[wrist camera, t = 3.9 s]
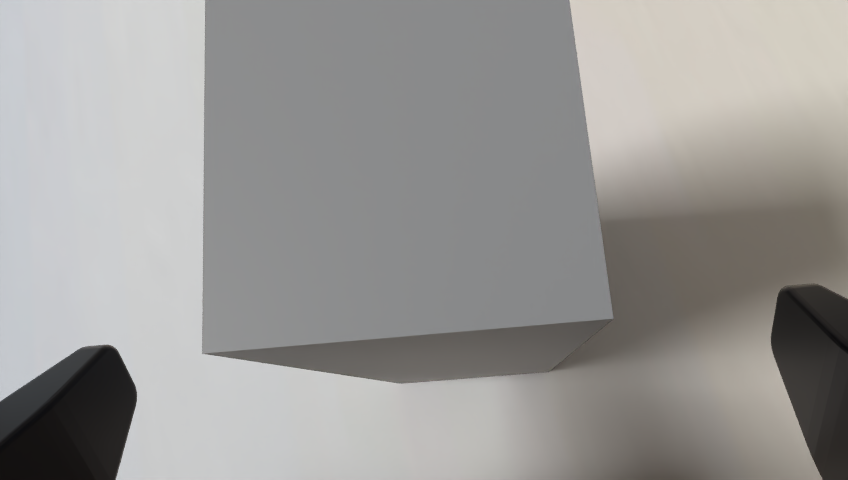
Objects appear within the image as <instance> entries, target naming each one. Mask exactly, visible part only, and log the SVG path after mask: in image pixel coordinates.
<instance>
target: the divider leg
mask: <svg viewBox="0 0 848 480" xmlns="http://www.w3.org/2000/svg"><path fill="white" fill-rule="evenodd" d="M613 319H614V318H613V311H612V304H611V297H610V290H609V283H608V275H607V268H606V261H605V254H604V247H603V239H602V232H601V225H600V218H599V211H598V203H597V196H596V189H595V182H594V175H593V167H592V160H591V153H590V146H589V139H588V132H587V124H586V117H585V110H584V103H583V96H582V88H581V81H580V74H579V67H578V60H577V52H576V45H575V38H574V31H573V24H572V17H571V9H570V2H569V0H205V96H204V211H203V327H202V354H208V355H215V356H222V357H228V358H235V359H242V360H248V361H255V362H261V363H268V364H275V365H281V366H288V367H294V368H301V369H308V370H314V371H321V372H327V373H334V374H341V375H347V376H354V377H361V378H367V379H374V380H380V381H387V382H394V383H412V382H425V381H438V380H451V379H464V378H477V377H490V376H503V375H516V374H529V373H542V372H549V371H550V370H552V369H553V368H554V367H555V366H557V365H558V364H559V363H560V362H561V361H563V360H564V359H565V358H566V357H568V356H569V355H570V354H571V353H572V352H574V351H575V350H576V349H577V348H578V347H580V346H581V345H582V344H583V343H585V342H586V341H587V340H588V339H589V338H591V337H592V336H593V335H594V334H595V333H597V332H598V331H599V330H600V329H602V328H603V327H604V326H605V325H606V324H608V323H609V322H610V321H611V320H613Z"/></svg>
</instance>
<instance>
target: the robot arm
mask: <svg viewBox="0 0 848 480" xmlns="http://www.w3.org/2000/svg"><path fill="white" fill-rule="evenodd" d="M771 346H772V351H773V355H774V358H775V360H776V363H777V366H778V368H779V371H780V374H781V376H782V379H783V382H784V384H785V387H786V390H787V392H788V395H789V398H790V400H791V403H792V406H793V409H794V411H795V414H796V417H797V419H798V422H799V425H800V427H801V430H802V433H803V435H804V438H805V441H806V443H807V446H808V448H809V451H810V453H811V456H812V458H813V460H814V462H815V464H816V467H817V469H818V471H819V473H820V475H821V477H822V479H823V480H848V299H846V298H844V297H842V296H840V295H838V294H836V293H835V292H833V291H831V290H829V289H827V288H825V287H823V286H820V285H818V284H802V285H791V286H785V287H784V288H782V289H781V290H780V292H779V294H778V297H777V303H776V309H775V315H774V321H773V327H772V333H771ZM136 402H137V391H136V387H135V384H134V382H133V380H132V378H131V376H130V374H129V372H128V370H127V368H126V366H125V364H124V362H123V360H122V358H121V356H120V354H119V352H118V351H117V349H116V348H114V347H113V346H111V345H97V346H87V347H83V348H80V349H79V350H77V351H75V352H74V353H72V354H71V355H69V356H68V357H66V358H65V359H63V360H62V361H60V362H59V363H57V364H56V365H54V366H53V367H51V368H50V369H48V370H47V371H45V372H44V373H42V374H41V375H39V376H38V377H36V378H35V379H33V380H32V381H30V382H29V383H27V384H26V385H24V386H23V387H21V388H20V389H18V390H17V391H15V392H14V393H12V394H11V395H9V396H8V397H6V398H5V399H3V400H2V401H0V480H116V476H117V473H118V469H119V465H120V462H121V458H122V454H123V451H124V447H125V443H126V440H127V436H128V432H129V429H130V425H131V421H132V418H133V414H134V410H135V407H136Z"/></svg>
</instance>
